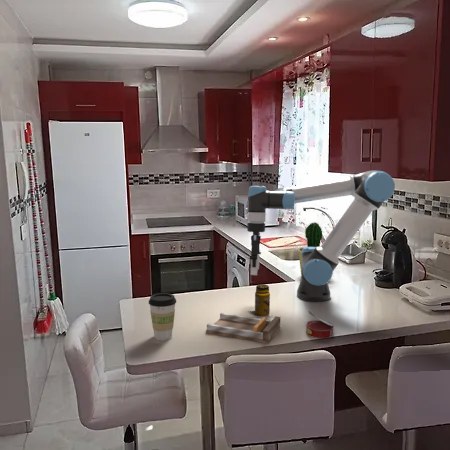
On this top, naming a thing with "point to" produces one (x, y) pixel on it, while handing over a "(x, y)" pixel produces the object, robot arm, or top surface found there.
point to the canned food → (319, 328)
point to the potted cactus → (311, 238)
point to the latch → (260, 325)
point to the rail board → (244, 328)
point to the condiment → (261, 302)
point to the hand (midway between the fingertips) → (254, 272)
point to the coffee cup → (162, 315)
